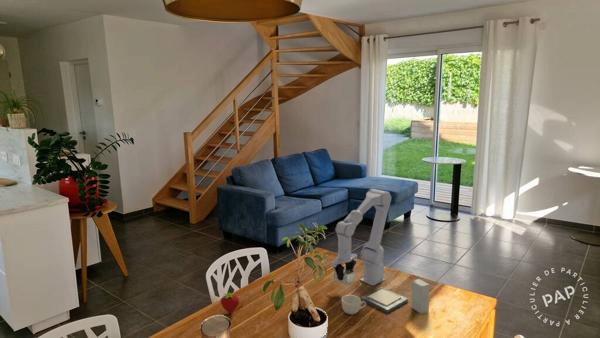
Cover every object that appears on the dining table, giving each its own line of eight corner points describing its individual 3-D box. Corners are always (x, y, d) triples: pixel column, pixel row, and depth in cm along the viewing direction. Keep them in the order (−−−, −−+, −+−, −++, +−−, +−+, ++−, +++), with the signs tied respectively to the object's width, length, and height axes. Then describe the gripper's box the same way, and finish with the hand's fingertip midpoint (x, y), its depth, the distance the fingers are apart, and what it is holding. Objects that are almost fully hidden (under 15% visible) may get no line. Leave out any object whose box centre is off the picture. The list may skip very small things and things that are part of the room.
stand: (381, 290, 176) (381, 285, 176) (407, 301, 166) (407, 297, 165) (361, 300, 167) (361, 295, 167) (387, 313, 157) (387, 308, 156)
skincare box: (429, 312, 157) (430, 284, 155) (420, 314, 156) (422, 286, 153) (418, 305, 163) (419, 278, 161) (410, 307, 161) (411, 280, 159)
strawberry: (237, 318, 154) (236, 294, 153) (219, 317, 155) (218, 293, 154) (241, 310, 160) (240, 287, 159) (223, 309, 161) (222, 286, 159)
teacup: (342, 316, 155) (342, 304, 154) (340, 306, 162) (340, 294, 161) (367, 316, 155) (367, 304, 154) (364, 306, 162) (364, 294, 161)
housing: (341, 276, 177) (341, 264, 176) (354, 282, 171) (355, 270, 170) (333, 279, 174) (334, 267, 173) (347, 285, 168) (347, 273, 167)
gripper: (349, 242, 178) (348, 270, 180) (326, 250, 168) (326, 279, 171) (360, 246, 172) (360, 275, 175) (338, 254, 163) (337, 285, 165)
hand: (344, 277), depth 172 cm, fingers closed on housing, 5 cm apart
